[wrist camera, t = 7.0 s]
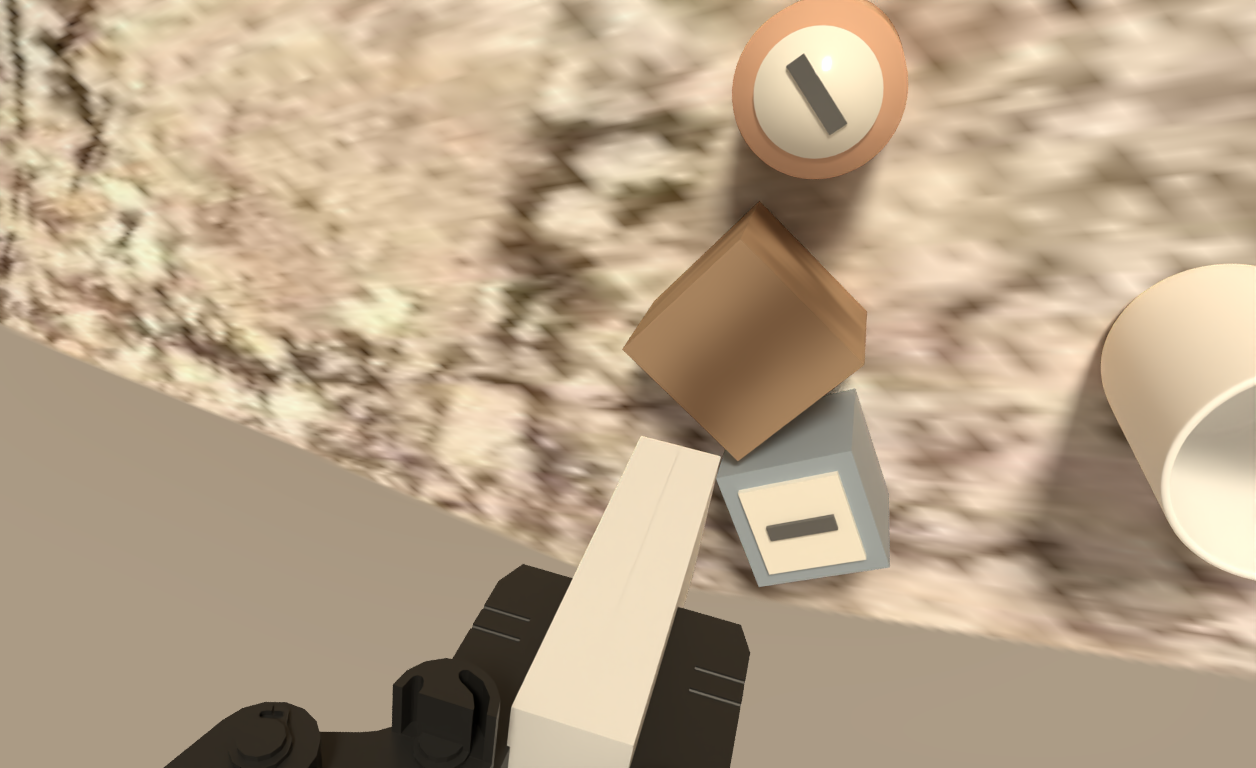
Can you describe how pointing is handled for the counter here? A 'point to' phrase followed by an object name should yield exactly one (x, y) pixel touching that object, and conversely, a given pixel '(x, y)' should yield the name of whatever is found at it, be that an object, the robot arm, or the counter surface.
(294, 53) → the counter surface
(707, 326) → the walnut block
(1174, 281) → the cup
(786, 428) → the slate block
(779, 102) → the terracotta cylinder
